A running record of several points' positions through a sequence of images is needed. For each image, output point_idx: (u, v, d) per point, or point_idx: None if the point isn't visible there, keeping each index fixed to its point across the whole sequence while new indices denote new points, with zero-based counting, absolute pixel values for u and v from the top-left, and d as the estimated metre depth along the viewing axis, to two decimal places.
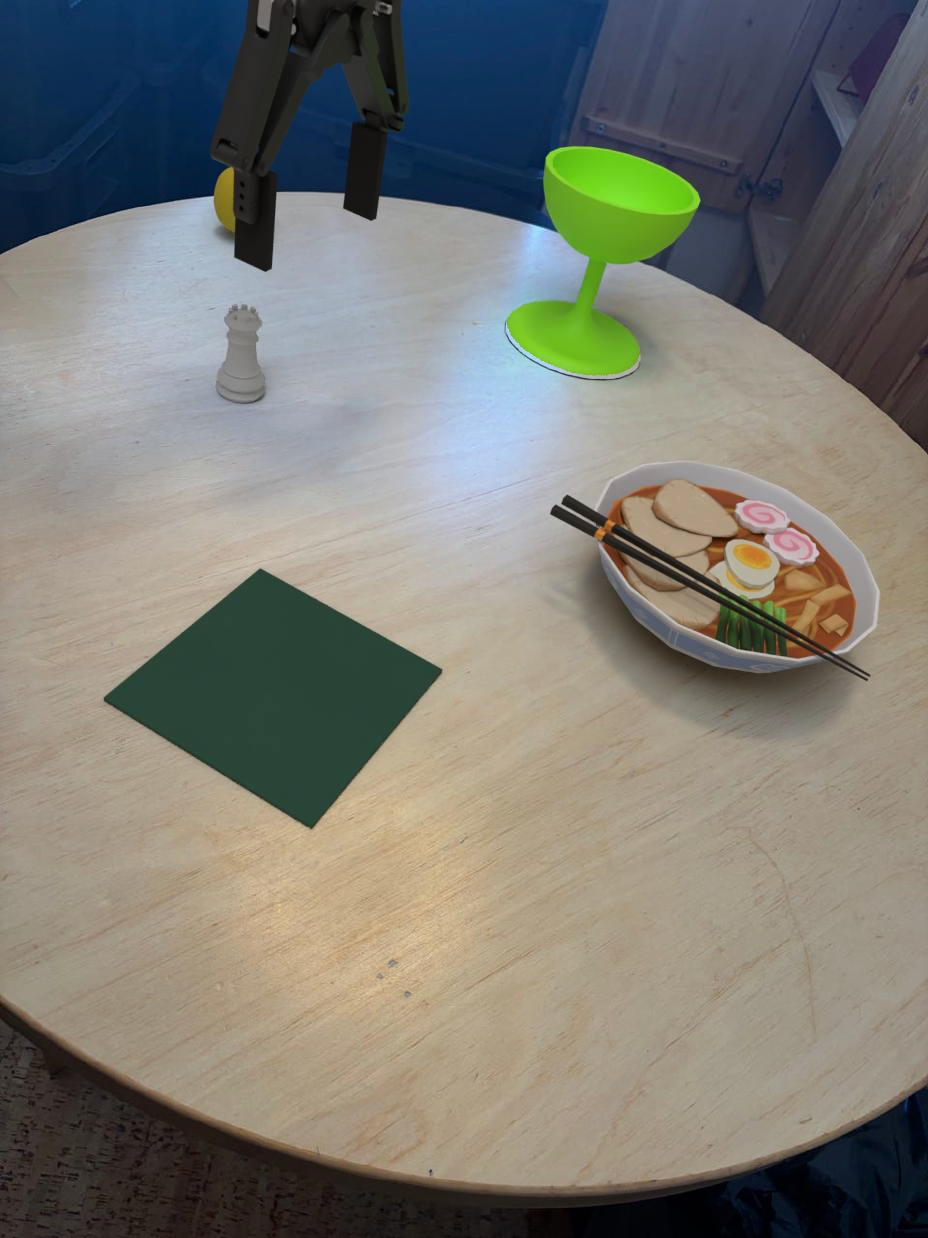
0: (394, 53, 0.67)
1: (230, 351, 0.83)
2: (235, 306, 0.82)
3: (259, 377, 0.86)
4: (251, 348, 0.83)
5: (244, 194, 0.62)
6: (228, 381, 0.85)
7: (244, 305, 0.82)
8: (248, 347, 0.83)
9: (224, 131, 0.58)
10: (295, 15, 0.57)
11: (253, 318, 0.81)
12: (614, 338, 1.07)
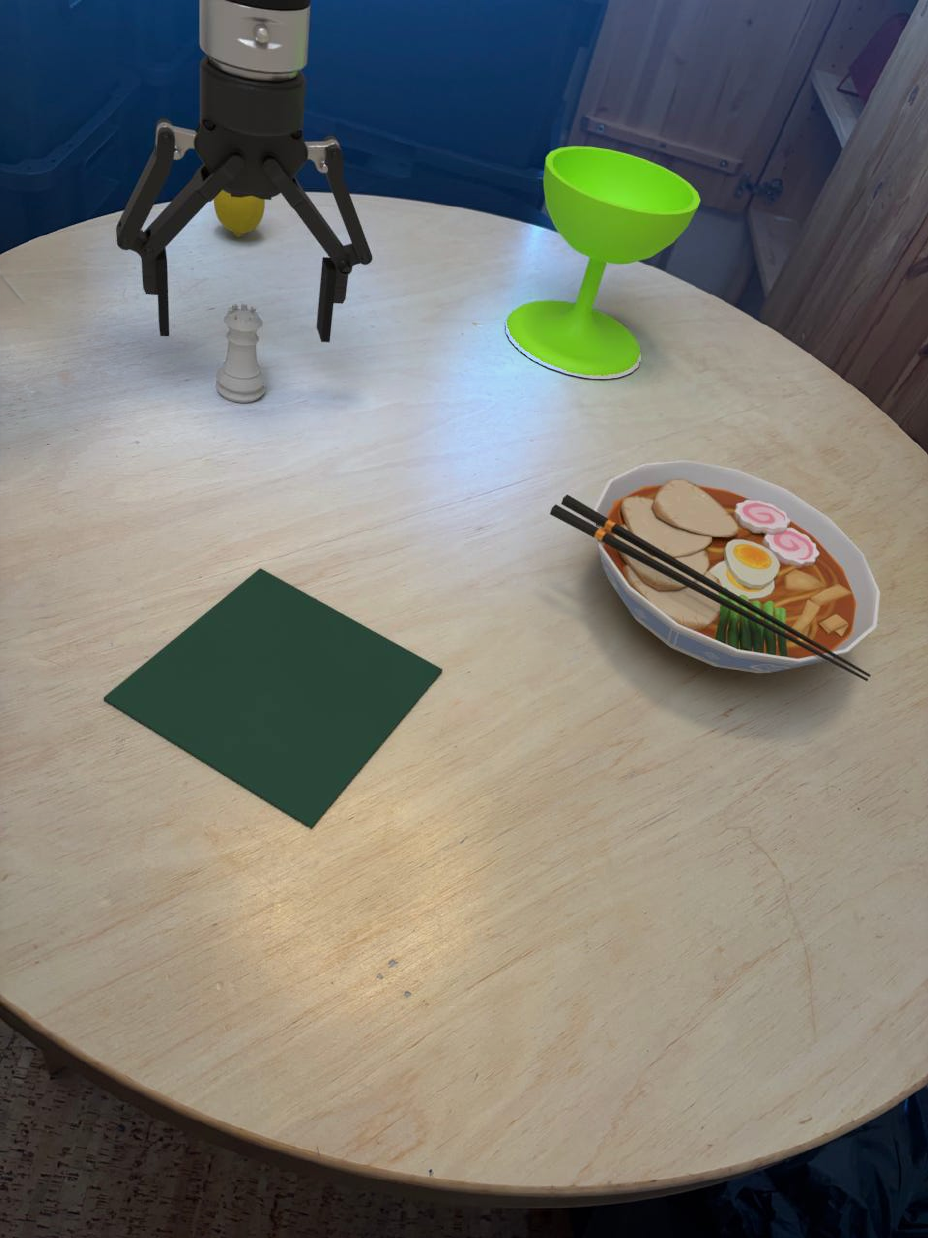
0: (339, 207, 0.76)
1: (230, 351, 0.83)
2: (235, 306, 0.82)
3: (259, 377, 0.86)
4: (251, 348, 0.83)
5: None
6: (228, 381, 0.85)
7: (244, 305, 0.82)
8: (248, 347, 0.83)
9: (122, 216, 0.74)
10: (191, 147, 0.71)
11: (253, 318, 0.81)
12: (614, 338, 1.07)
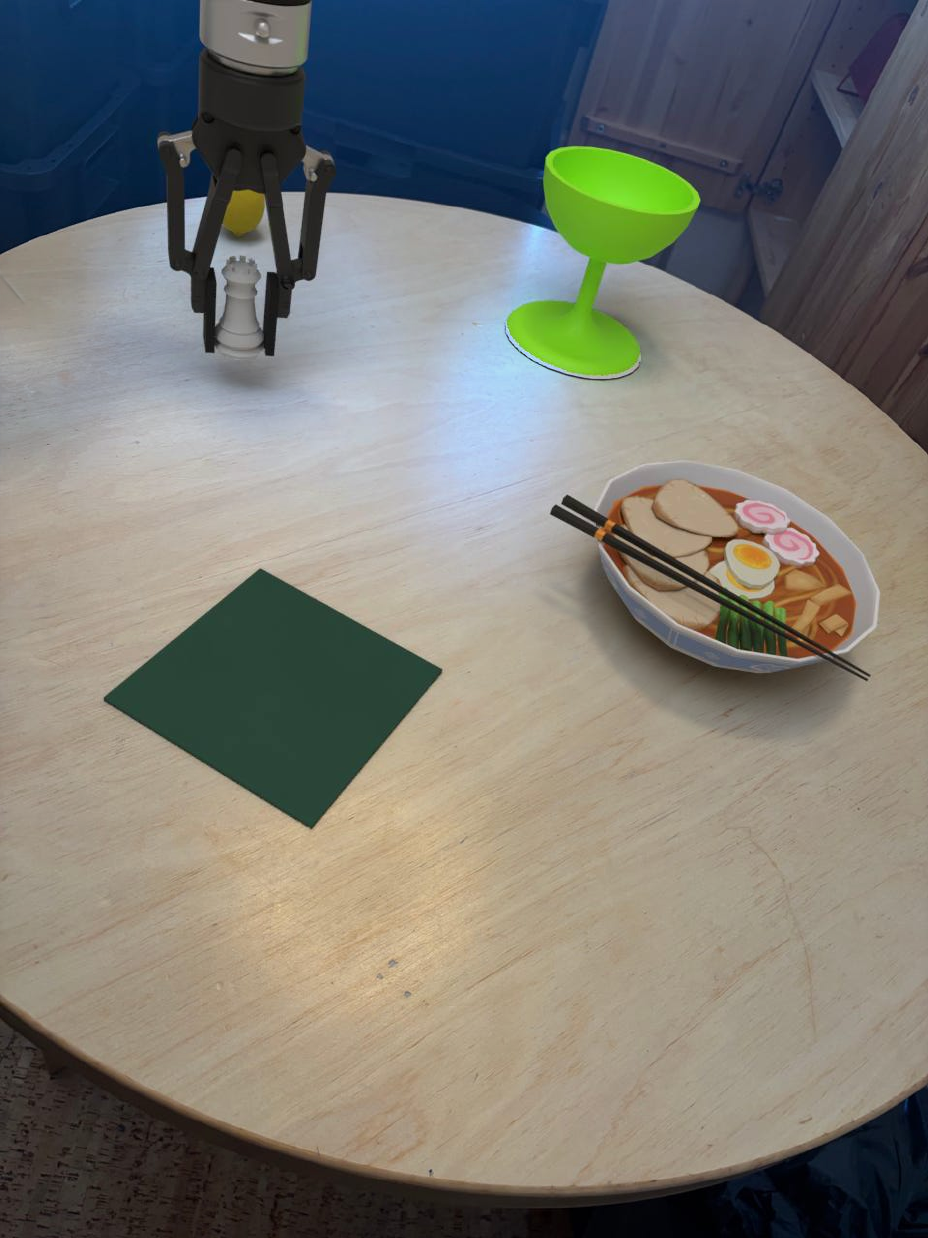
0: (308, 217, 0.76)
1: (228, 305, 0.81)
2: (233, 257, 0.79)
3: (258, 333, 0.83)
4: (249, 302, 0.80)
5: None
6: (226, 337, 0.82)
7: (242, 257, 0.79)
8: (246, 301, 0.80)
9: None
10: (193, 147, 0.71)
11: (251, 270, 0.78)
12: (614, 338, 1.07)
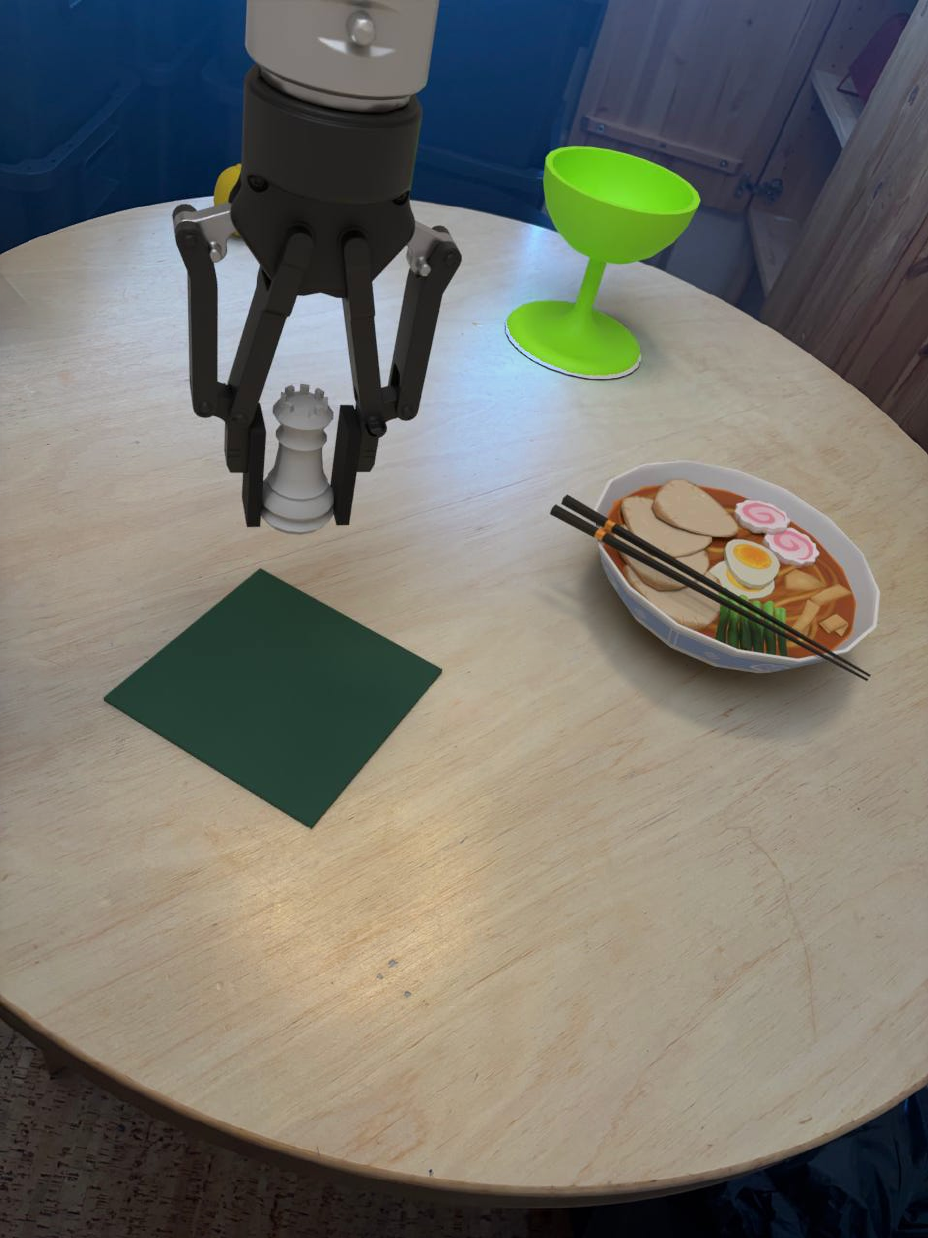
0: (413, 331, 0.48)
1: (282, 459, 0.52)
2: (291, 388, 0.51)
3: (326, 495, 0.54)
4: (315, 454, 0.52)
5: None
6: (279, 504, 0.53)
7: (304, 387, 0.51)
8: (311, 453, 0.52)
9: (190, 369, 0.48)
10: (233, 231, 0.43)
11: (320, 409, 0.50)
12: (614, 338, 1.07)
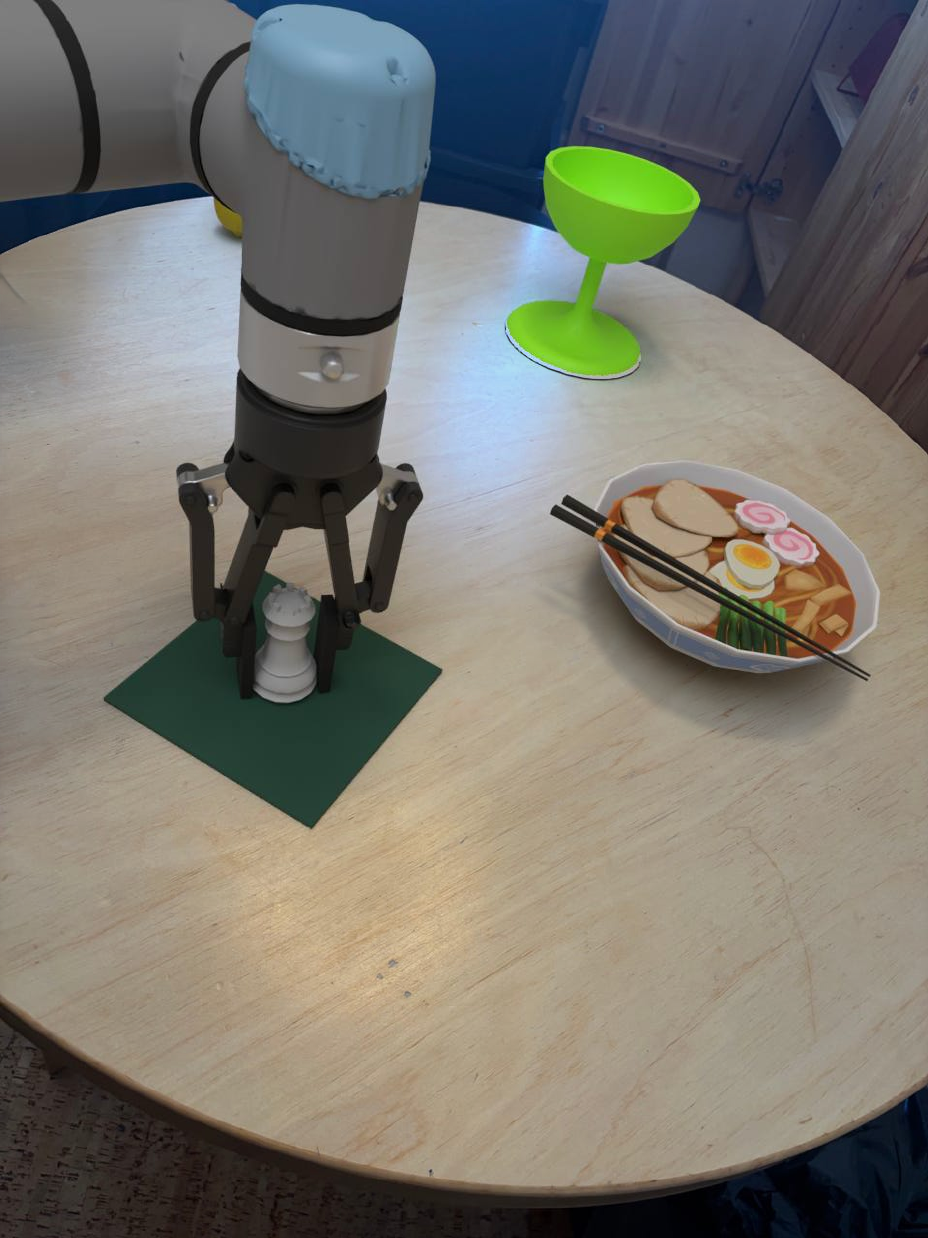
0: (382, 549, 0.56)
1: (270, 644, 0.60)
2: (279, 588, 0.59)
3: (309, 669, 0.62)
4: (300, 640, 0.60)
5: None
6: (268, 681, 0.61)
7: (290, 586, 0.59)
8: (296, 640, 0.60)
9: None
10: (227, 487, 0.50)
11: (304, 608, 0.58)
12: (614, 338, 1.07)
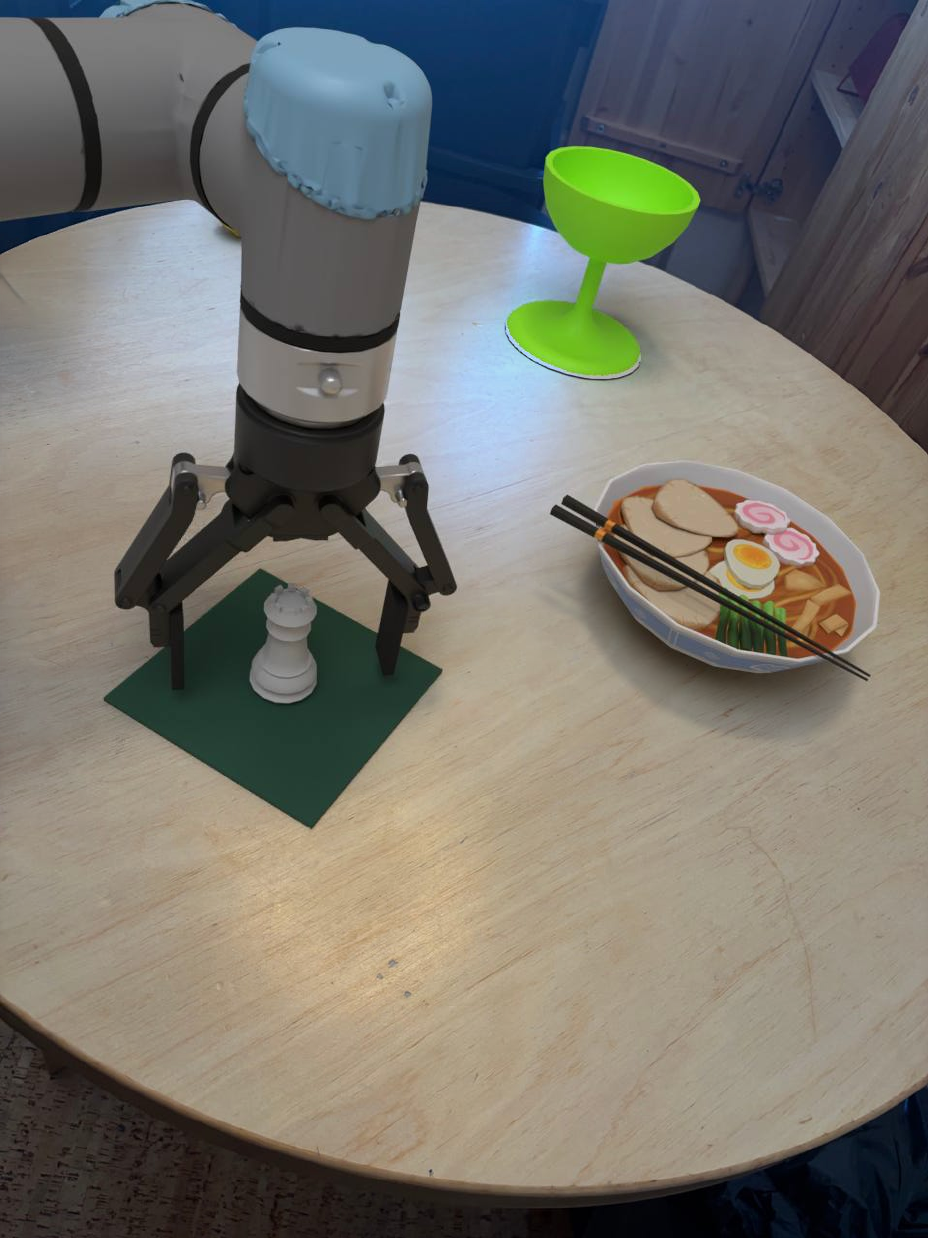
0: (418, 541, 0.56)
1: (271, 645, 0.60)
2: (280, 589, 0.59)
3: (310, 670, 0.62)
4: (301, 641, 0.60)
5: None
6: (268, 681, 0.61)
7: (292, 586, 0.59)
8: (297, 641, 0.60)
9: (123, 564, 0.54)
10: (221, 490, 0.51)
11: (305, 609, 0.58)
12: (614, 338, 1.07)
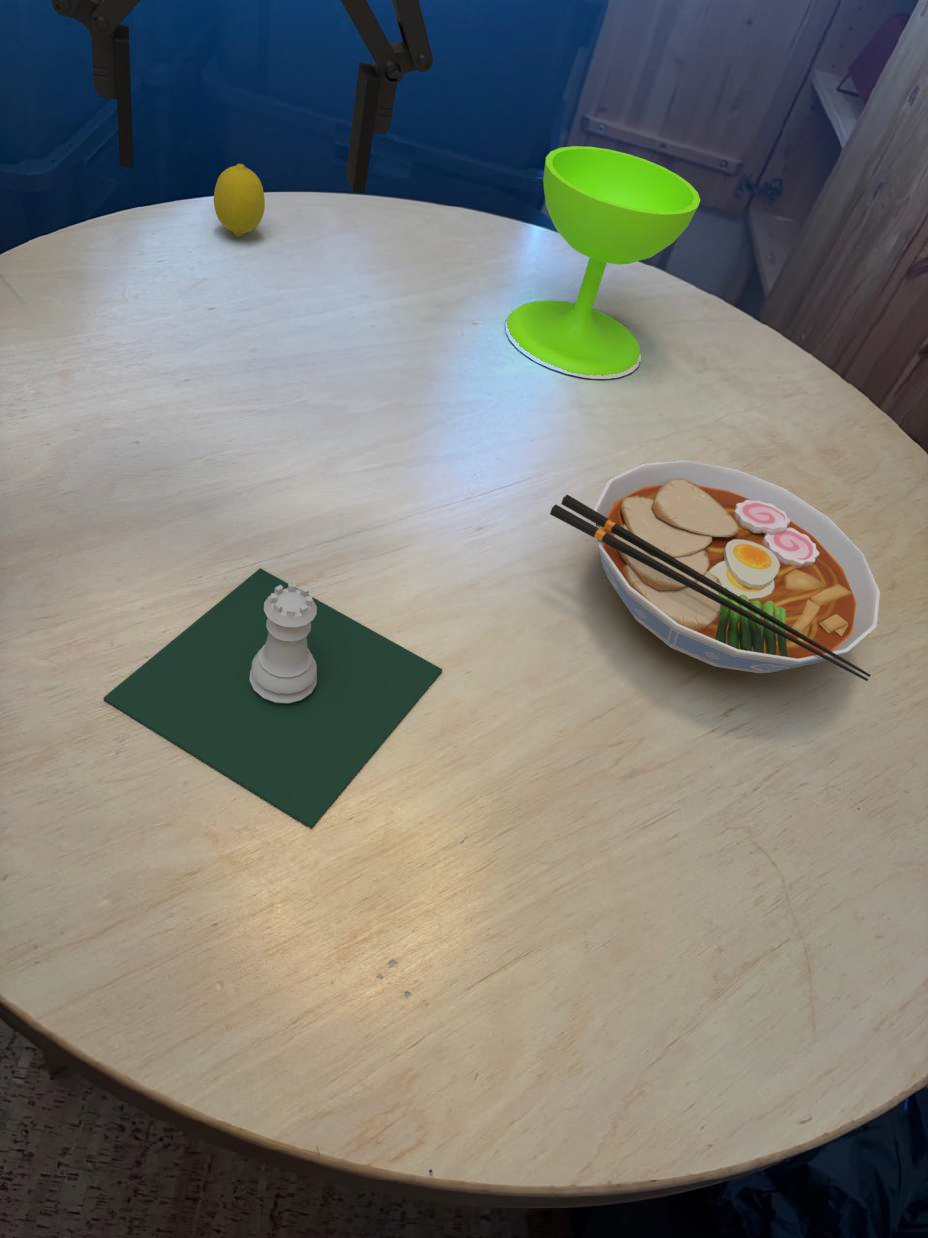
0: None
1: (271, 645, 0.60)
2: (280, 589, 0.59)
3: (310, 670, 0.62)
4: (301, 641, 0.60)
5: None
6: (268, 681, 0.61)
7: (292, 586, 0.59)
8: (297, 641, 0.60)
9: None
10: None
11: (305, 609, 0.58)
12: (614, 338, 1.07)
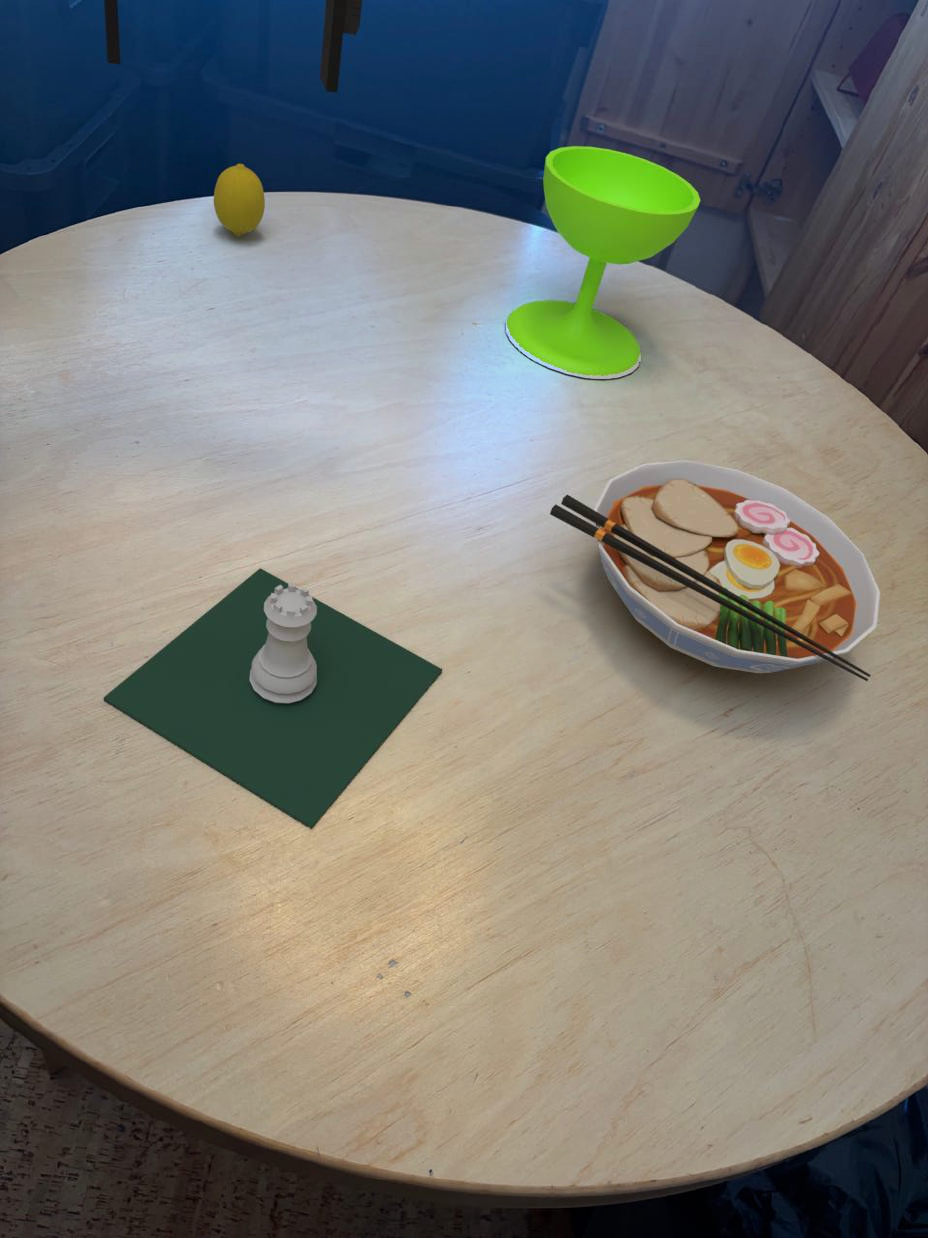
0: None
1: (271, 645, 0.60)
2: (280, 589, 0.59)
3: (310, 670, 0.62)
4: (301, 641, 0.60)
5: None
6: (268, 681, 0.61)
7: (292, 586, 0.59)
8: (297, 641, 0.60)
9: None
10: None
11: (305, 609, 0.58)
12: (614, 338, 1.07)
